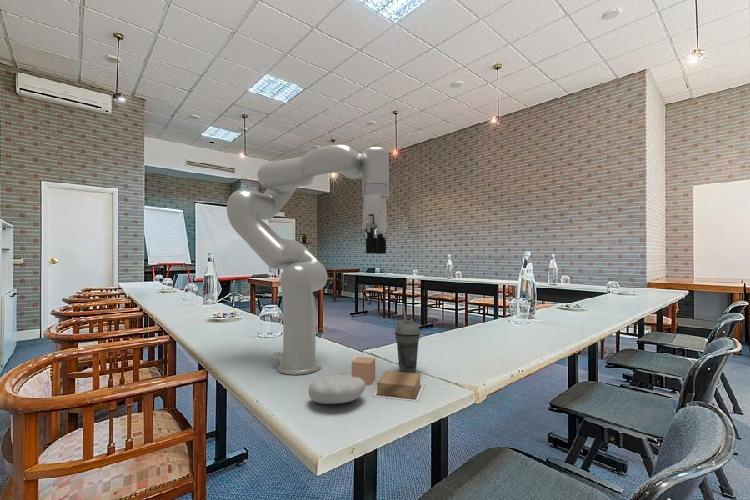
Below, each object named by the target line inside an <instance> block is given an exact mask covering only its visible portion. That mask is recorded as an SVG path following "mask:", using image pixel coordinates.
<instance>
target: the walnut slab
mask: <svg viewBox="0 0 750 500" xmlns="http://www.w3.org/2000/svg"><path fill="white" fill-rule="evenodd" d="M376 384H377V385H376V390H377V395H380V396H389V397H398V398H408V399H415V397H416V395H417V392H418V390H419V387H420V384H421V373H416V372H415V373H405V372H400V371H394V370H393V371H391V370H385V371H384V373H383V374H382V376H381V377H380V378H379V379H378V380H377V383H376Z"/></svg>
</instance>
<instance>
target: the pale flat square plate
mask: <svg viewBox="0 0 750 500" xmlns="http://www.w3.org/2000/svg"><path fill="white" fill-rule="evenodd" d="M424 388H425V384H422V383H420V387H419V390H418V392H417V395H416V397H415V399H408V398H398V397H389V396H380V395H377V389H376V390H375V392H374V393H373V394H372V395H371V397H373V398H382V399H392V400H399V401H410V402H418V403H419V401H420V398H421V396H422V393H423V390H424Z"/></svg>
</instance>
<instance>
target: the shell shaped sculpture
mask: <svg viewBox="0 0 750 500" xmlns="http://www.w3.org/2000/svg"><path fill="white" fill-rule="evenodd" d="M365 389H366V385H365V382H364V381H363V380H362V379H360V378H359V377H352V375H350V374H344V375H341V374H338V373H335V374H333V375H323V376H322V377H321V378H320V379H318V380H313V381H311V382H310V384H309V387H308V397H309V398H310V400H312V401H313V402H315V403H318V404H322V405H336V404H337V405H338V404H346V403H350V402H353V401H355V400H356V399H358V398H360V397H361V396H362V395H363V393H364V391H365Z"/></svg>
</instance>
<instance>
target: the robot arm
mask: <svg viewBox="0 0 750 500" xmlns="http://www.w3.org/2000/svg"><path fill="white" fill-rule="evenodd" d="M389 165H390V157H389V151H388V150H387V149H386V148H384V147H382V146H381V147H380V146H373V147H372V146H371V147H366V148H365V149H363V151H362V152H361V153H360V152H358V151H356V150H355V149H354V148H352V147H350V146H349V145H346V144H332V145H331V144H330V145H327V146H319V147H317V148H314V149H312V150H310V151H309V152H307V153H305V154H304V155H303V156H299V157H293V158H287V159H281V160H275V161H270V162H266V163H264V164H262V165H261V166H260V167H259V168H258V170H257V174H256V175H257V180H258V182H259V183H260V184H261V186H262V187H263V188H266V190H265V192H263V193H262V192H258V191H254V190H250V189H239V190H238V189H237V190H236V191H234V192H233V193H231V194H230V195H229V197H228V199H227V203H226V215H227V219H228V221H229V224H230V225H231V227H232V228H233V230H234V231H235V232H236V234H238V236H240V237H241V239H242V240H243V241H245V242H246V244H247V245H249V247H250V248H251V249H252V251H254V252H255V254H256V255H257V256H258V257H259V258H260V259H261V260H262V261H263V262H264V263H265V265H267V266H268V267H269V268H270V269H274V270H282V272H281V275H280V278H279V279H280V281H279V283H280V288H281V289H280V290H281V295H282V296H281V297H282V312H283V313H282V318H283V319H282V321H283V324H282V327H283V328H282V329H283V331H282V332H283V334H282V343H283V344H282V346H283V348H282V351H283V352H279V351H274V352H273V353H272V357H271V360H272V361H278V362H279V364H278V365H277V371H278V372H279V373H281V374H285V375H294V376H295V375H297V376H298V375H306V374H307V375H308V374H311V373H315V372H316V371H318V370H320V368H322V367H321V365H322V364H321V361H319V360H317V357H316V352H317V351H316V350H317V349H316V346H317V344H316V343H317V339H316V335H317V334H316V331H317V330H316V328H317V325H316V324H317V322H316V319H317V316H316V313H317V311H316V309H317V308H316V301H315V296H314V292H318V291H320V290H321V289H323V288H324V287H325V286H326V285H327V282H328V271H327V269H326V268H325V266H324V265H323V263H321V262H320V261H319V260H318V258H316V257H315V256H314V255H313V254H312V253H311V252H310V250H308V248H307V247H306V246H304V245H303V244H302V243H301V242H299V241H297V240H296V239H295V240H293V239H288V238H282V237H281V236H280V235H278V234H277V233H276V232H275V231H274V229H273V228H272V227H271V226H269V225H268V223H266V222H265V221H266V220H267V221H268V220H270V219H273V218H274V217H275V216H277V214H278V213H279V212H280V211H281V210H282V208H283V207H284V206H285V205H286V203H287V202H288V201H289V200H290V198H291V197H292V196H293V195H294V193H295V192H296V190H297V189H298V187H304V186H309V185H311V184H312V183H313V182H314V179H315V177H317V176H319V175H324V174H332V173H339V174H340V175H342V176H344V177H345V178H347V179H350V180H357V179H362V180H361V181H362V182H361V183H362V185H361V187H362V189H361V190H362V199H363V203H362V205H363V206H362V224H361V225H362V231H363V232H364V233H365V254H367V255H368V254H376V255H377V254H382V255H383V254H384V255H385V254H386V253H387V235H386V232H387V231H388V230H387V228H388V217H387V216H388V213H387V212H388V211H387V200H388V199H390V169H389V168H390V166H389ZM264 220H265V221H264Z"/></svg>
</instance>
